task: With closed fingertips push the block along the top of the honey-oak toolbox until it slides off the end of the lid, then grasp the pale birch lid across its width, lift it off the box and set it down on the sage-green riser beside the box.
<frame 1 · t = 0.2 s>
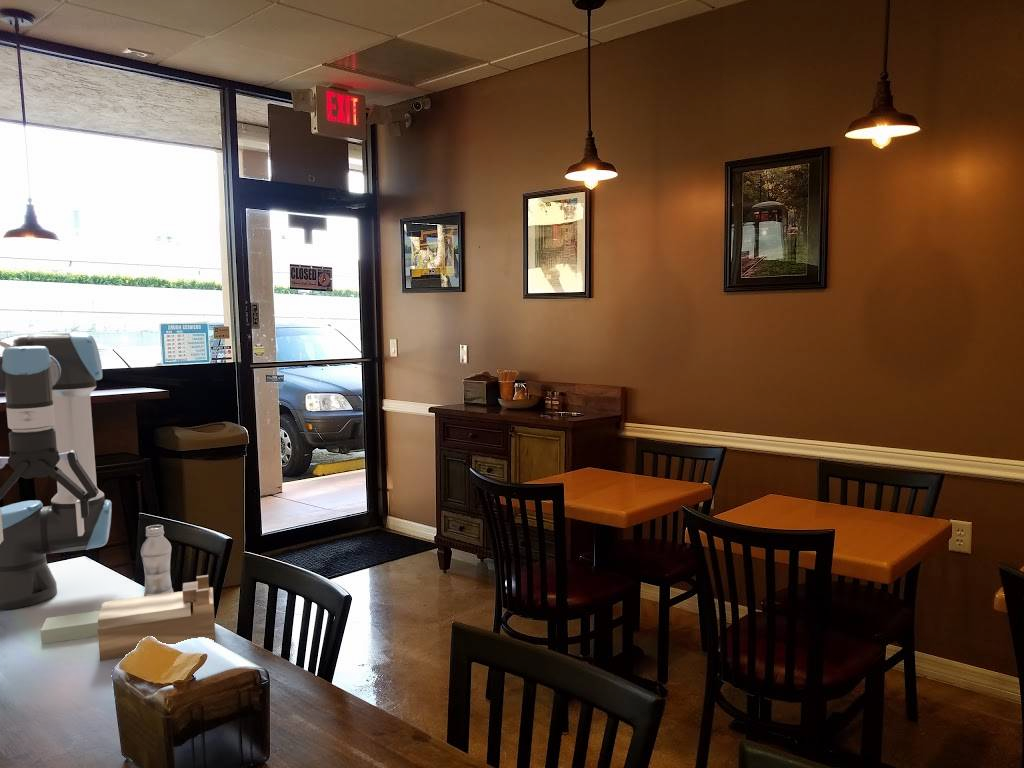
hand: (41, 538, 149), 28 cm above the table, fingers open, 13 cm apart
toolbox: (160, 643, 166), on the table
riser: (78, 632, 172), on the table
block: (190, 591, 167), point 10 cm above the table, slide at 0.0 cm
lid: (147, 613, 164), point 7 cm above the table, touching toolbox
plastic bottle: (159, 610, 184), on the table
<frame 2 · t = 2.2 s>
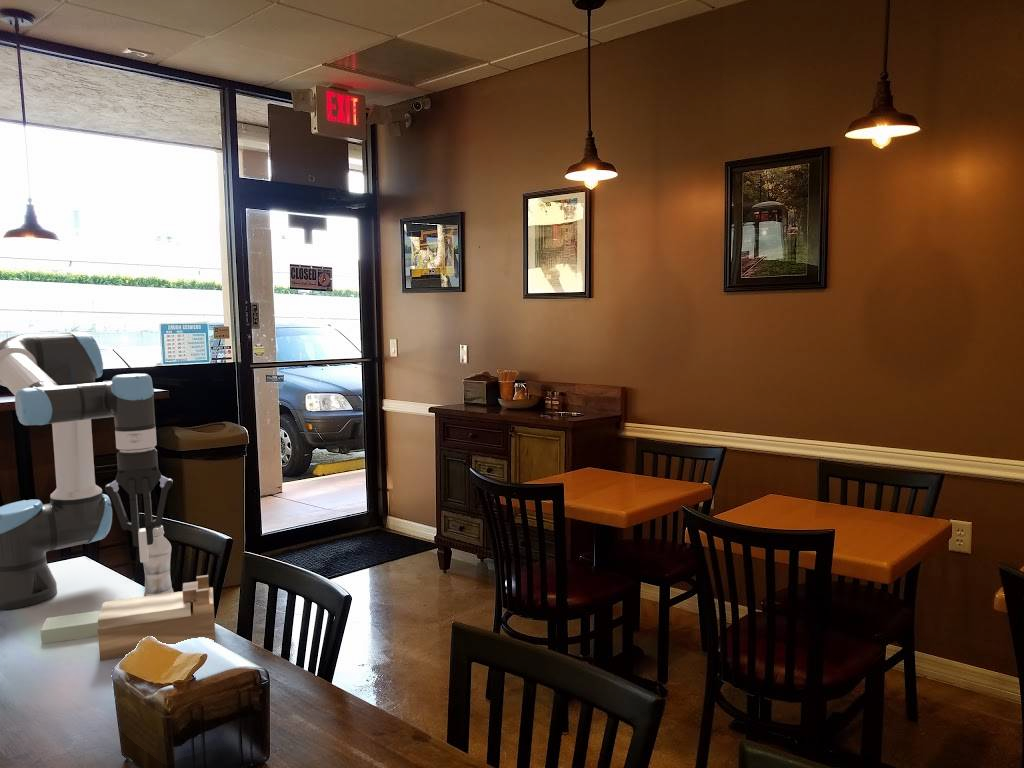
hand: (144, 560, 163), 19 cm above the table, fingers closed
nothing on the table moved.
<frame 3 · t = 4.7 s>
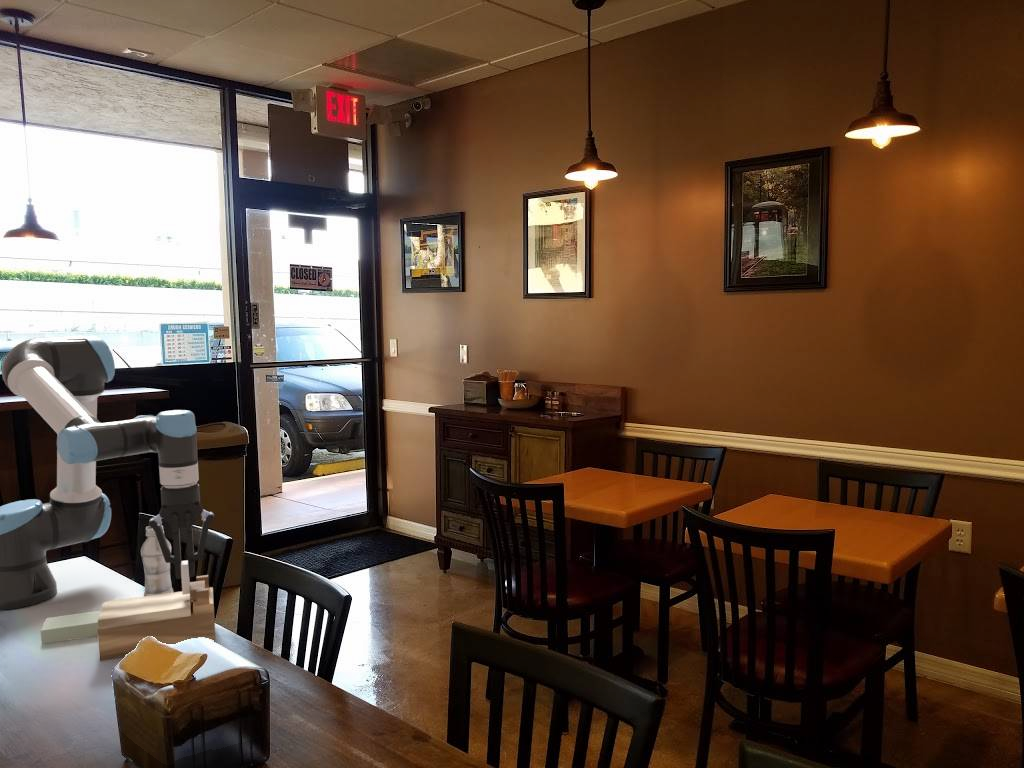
hand: (186, 591, 167), 11 cm above the table, fingers closed
block: (197, 590, 168), point 10 cm above the table, slide at 1.4 cm, touching gripper
everything else where it was.
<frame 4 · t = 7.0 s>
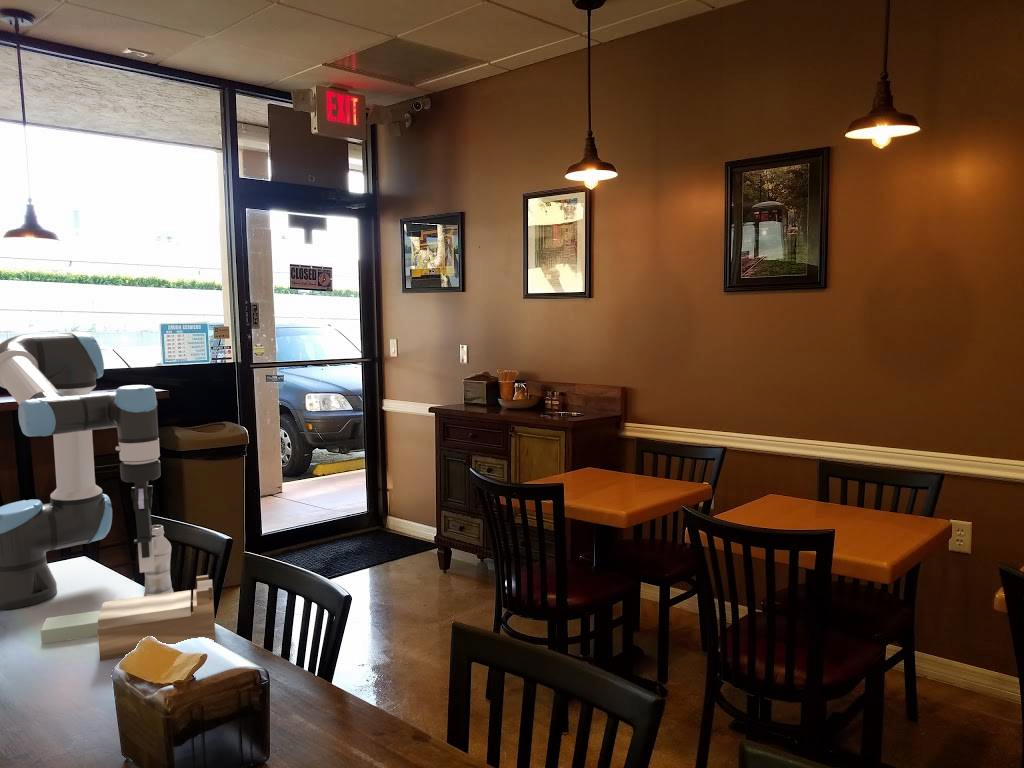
hand: (147, 570, 164), 16 cm above the table, fingers closed
block: (205, 589, 168), point 10 cm above the table, slide at 2.9 cm
everything else where it was.
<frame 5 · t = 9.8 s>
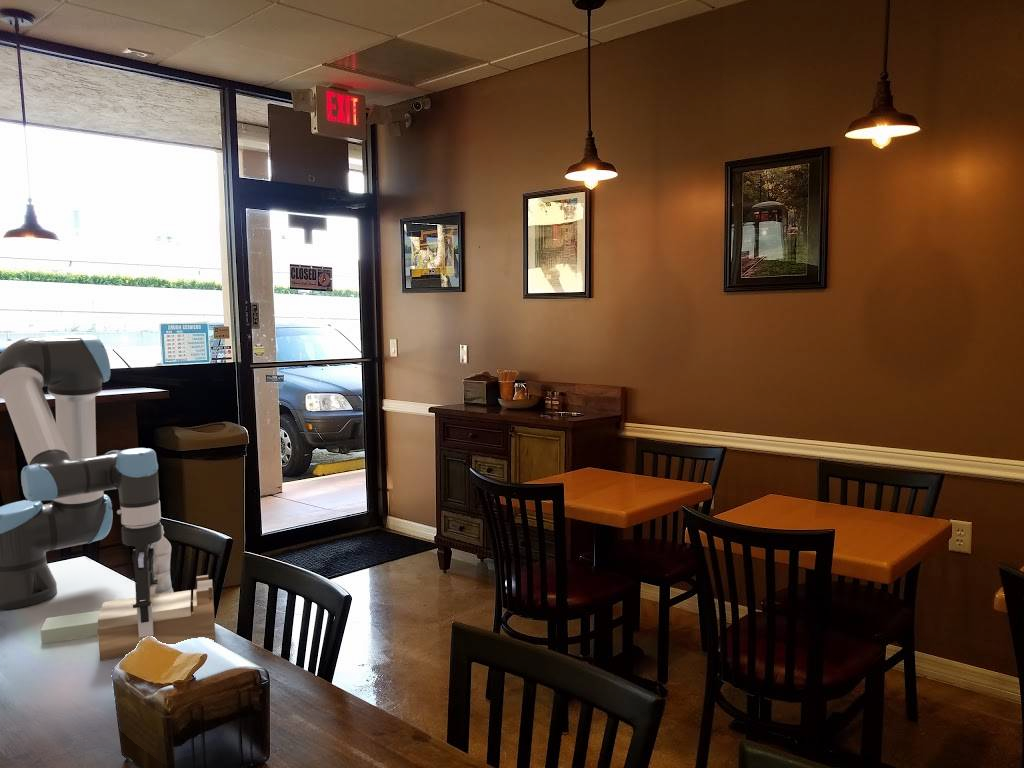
hand: (147, 625, 165), 4 cm above the table, fingers closed on lid, 10 cm apart
lid: (147, 613, 164), point 7 cm above the table, touching gripper, toolbox
everything else where it was.
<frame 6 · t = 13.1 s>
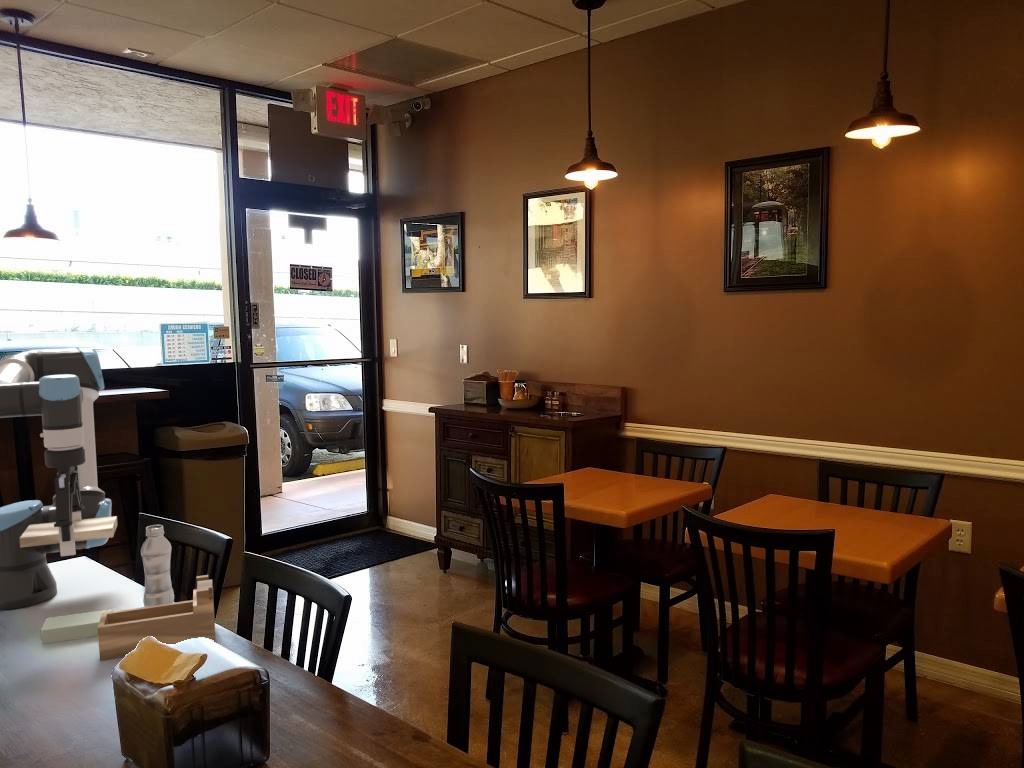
hand: (72, 547, 169), 19 cm above the table, fingers closed on lid, 10 cm apart
lid: (71, 535, 169), point 22 cm above the table, touching gripper
everything else where it was.
when the fingers open (2 cm above the table, at t = 16.8 s): lid drops 2 cm, resting on riser.
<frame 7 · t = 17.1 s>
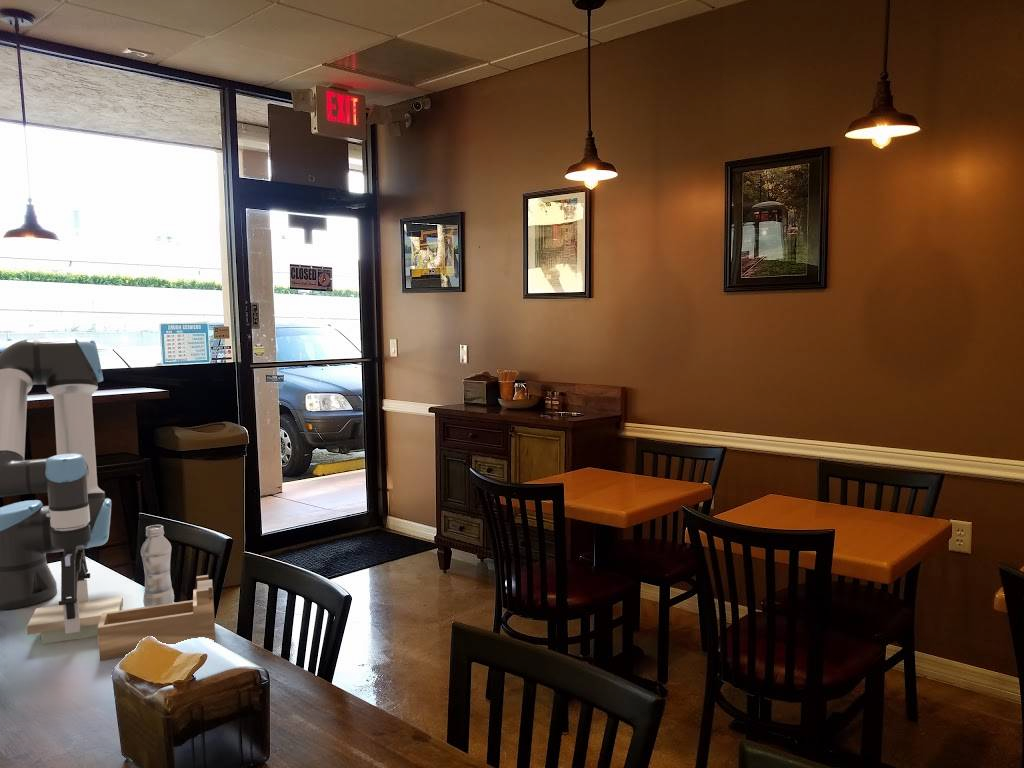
hand: (77, 619, 171), 3 cm above the table, fingers open, 13 cm apart
lid: (77, 619, 171), point 3 cm above the table, touching riser
everything else where it was.
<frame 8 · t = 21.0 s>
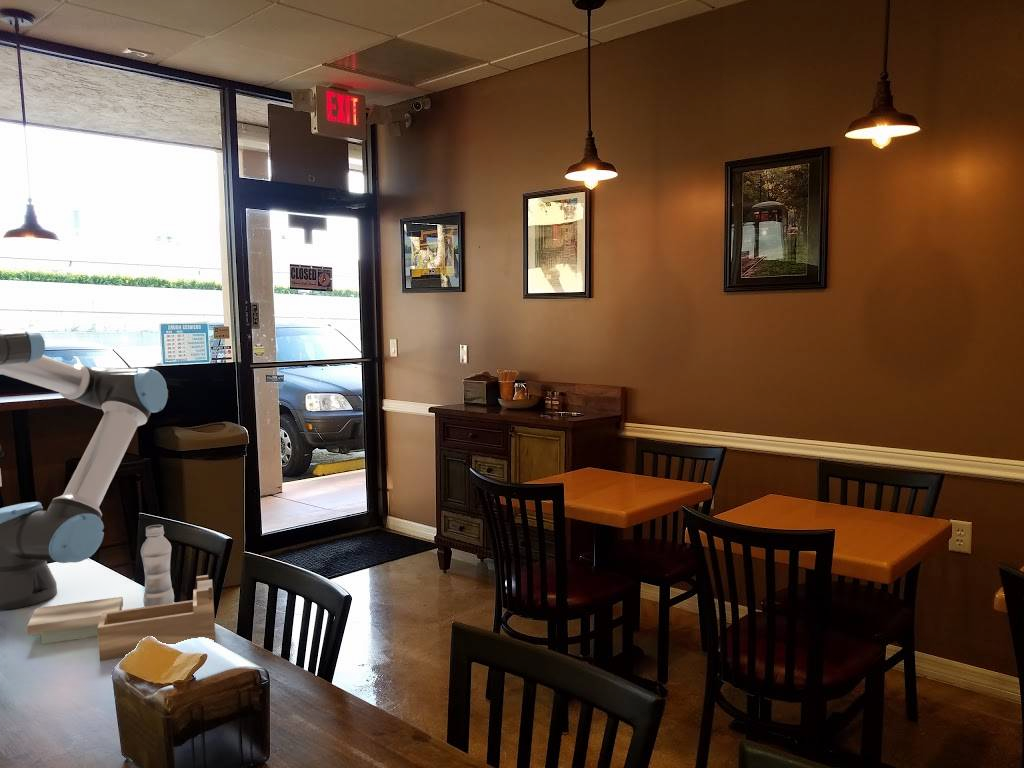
nothing on the table moved.
at the end: block slide at 2.9 cm; lid inside the target area on the riser (0.1 cm from its centre), point 3.0 cm above the riser's base; lid tilted 0° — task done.
